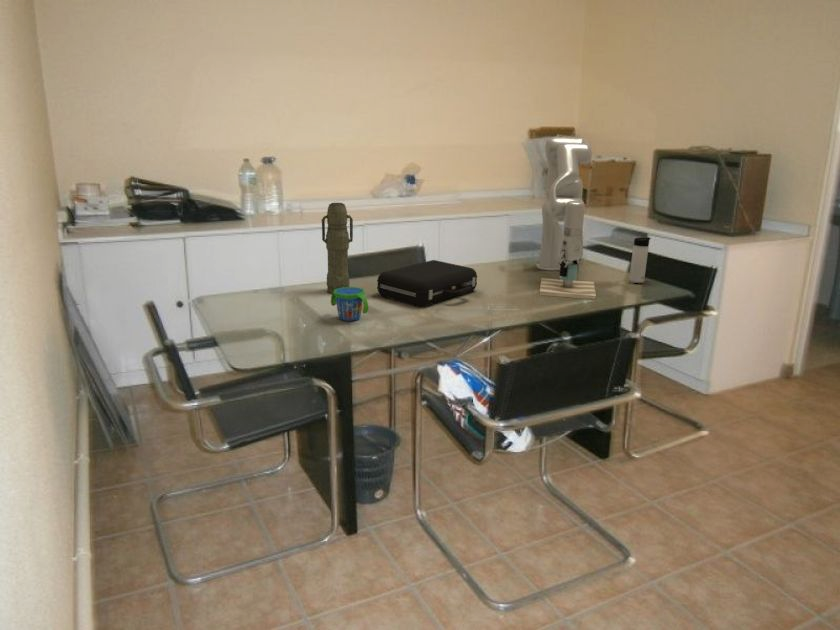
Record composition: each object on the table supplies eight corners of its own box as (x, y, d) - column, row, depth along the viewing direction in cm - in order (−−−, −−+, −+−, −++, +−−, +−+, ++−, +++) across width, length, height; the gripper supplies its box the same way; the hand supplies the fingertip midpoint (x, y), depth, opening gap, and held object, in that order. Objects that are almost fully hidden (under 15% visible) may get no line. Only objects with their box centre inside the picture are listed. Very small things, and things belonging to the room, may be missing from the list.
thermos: (320, 289, 264) (319, 202, 253) (349, 287, 268) (348, 201, 257) (326, 295, 256) (324, 205, 245) (355, 293, 260) (354, 204, 249)
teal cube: (562, 280, 267) (564, 266, 265) (557, 276, 273) (559, 262, 272) (578, 280, 268) (579, 266, 266) (572, 276, 274) (574, 262, 272)
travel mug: (646, 284, 284) (652, 239, 278) (631, 284, 284) (636, 238, 278) (642, 280, 290) (648, 236, 284) (627, 280, 290) (632, 235, 284)
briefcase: (435, 314, 238) (436, 287, 235) (373, 296, 257) (373, 271, 254) (492, 294, 264) (493, 270, 261) (432, 280, 283) (432, 257, 280)
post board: (541, 281, 284) (542, 260, 282) (593, 285, 280) (595, 263, 277) (539, 295, 264) (541, 272, 261) (595, 299, 260) (598, 276, 257)
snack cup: (323, 316, 231) (322, 288, 227) (346, 310, 238) (345, 283, 235) (353, 327, 221) (352, 298, 217) (375, 320, 228) (375, 292, 225)
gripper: (567, 235, 256) (563, 280, 262) (592, 231, 268) (588, 273, 273) (552, 233, 262) (548, 276, 267) (577, 228, 273) (573, 270, 278)
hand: (568, 274), depth 270 cm, fingers closed on teal cube, 6 cm apart
